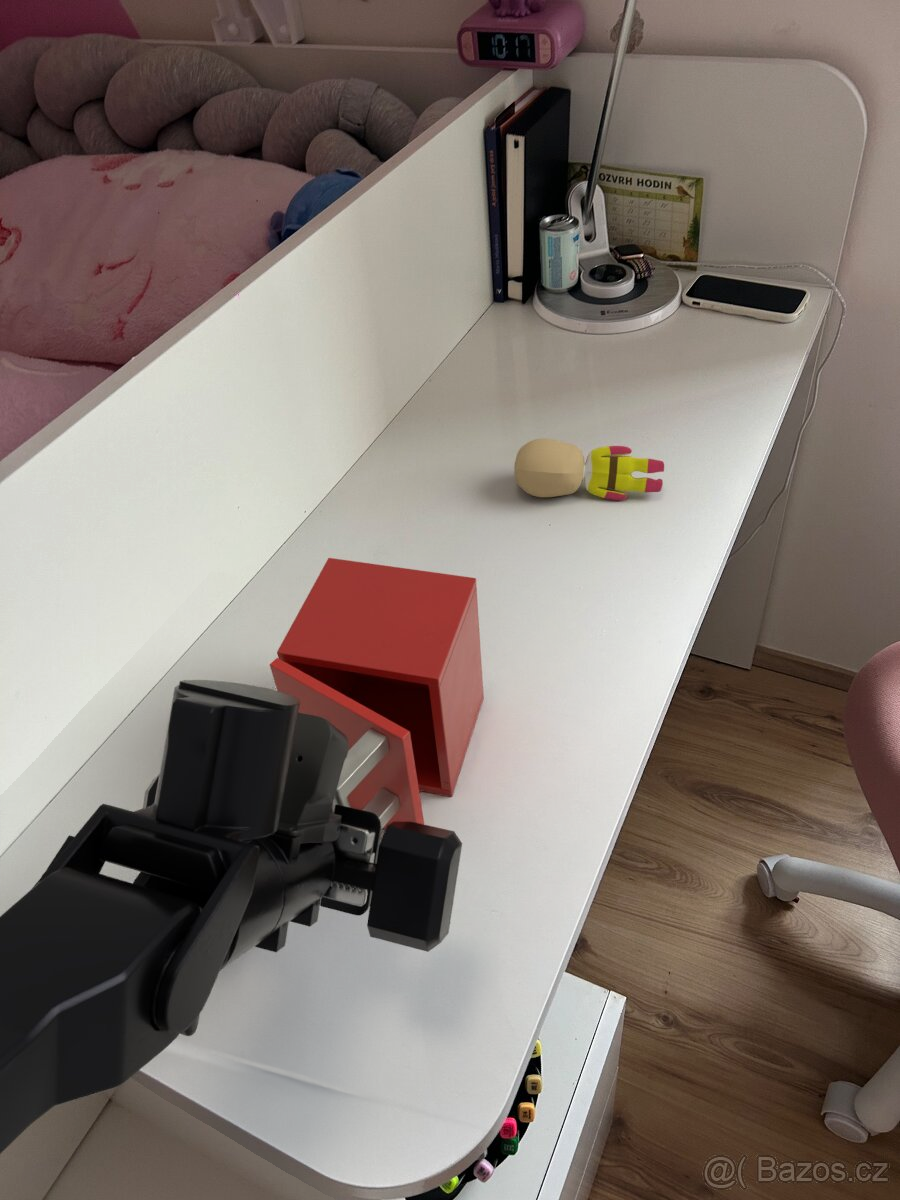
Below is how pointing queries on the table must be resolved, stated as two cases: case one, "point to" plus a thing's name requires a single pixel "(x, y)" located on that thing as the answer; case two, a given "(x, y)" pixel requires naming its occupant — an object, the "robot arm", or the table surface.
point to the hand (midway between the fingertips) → (348, 824)
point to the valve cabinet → (398, 655)
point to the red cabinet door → (361, 749)
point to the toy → (582, 470)
